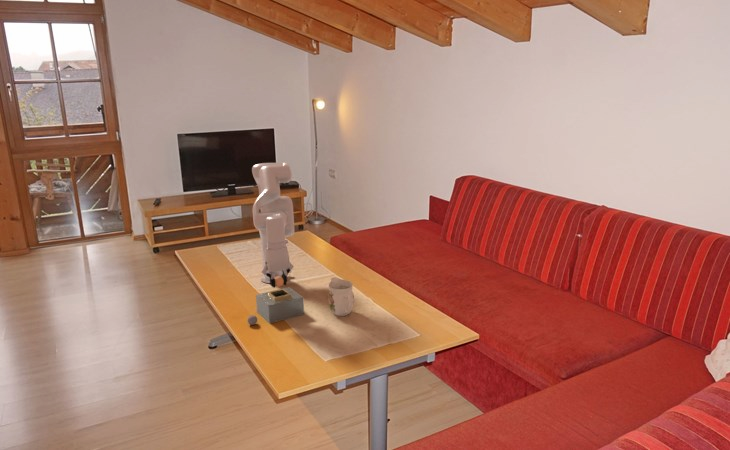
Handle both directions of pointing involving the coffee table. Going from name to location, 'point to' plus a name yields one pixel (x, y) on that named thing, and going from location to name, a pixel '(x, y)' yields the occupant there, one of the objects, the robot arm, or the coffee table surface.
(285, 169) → the robot arm
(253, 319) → the bead
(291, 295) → the grey box with opening
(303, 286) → the coffee table surface
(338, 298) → the pitcher
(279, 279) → the bead
